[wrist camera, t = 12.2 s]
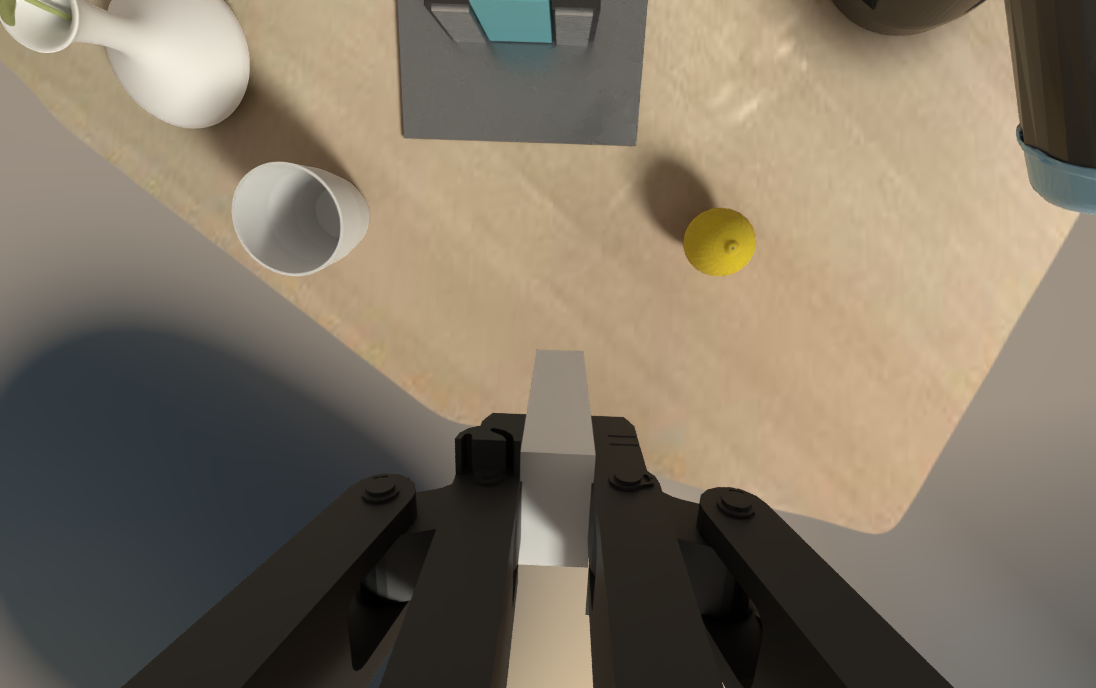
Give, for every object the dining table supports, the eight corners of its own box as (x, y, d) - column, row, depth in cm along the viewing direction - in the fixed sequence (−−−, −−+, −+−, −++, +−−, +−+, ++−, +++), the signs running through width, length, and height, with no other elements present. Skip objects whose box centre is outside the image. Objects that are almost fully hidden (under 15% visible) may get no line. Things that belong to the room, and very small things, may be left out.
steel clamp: (650, -46, 40) (674, -105, 32) (635, 146, 45) (652, 138, 36) (396, -53, 41) (352, -114, 32) (405, 138, 45) (368, 128, 37)
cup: (293, 164, 46) (223, 160, 36) (384, 166, 46) (337, 163, 36) (304, 256, 48) (240, 274, 39) (390, 258, 48) (348, 277, 39)
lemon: (691, 196, 46) (717, 199, 38) (747, 219, 46) (784, 227, 39) (664, 254, 47) (684, 268, 40) (719, 276, 48) (748, 295, 40)
